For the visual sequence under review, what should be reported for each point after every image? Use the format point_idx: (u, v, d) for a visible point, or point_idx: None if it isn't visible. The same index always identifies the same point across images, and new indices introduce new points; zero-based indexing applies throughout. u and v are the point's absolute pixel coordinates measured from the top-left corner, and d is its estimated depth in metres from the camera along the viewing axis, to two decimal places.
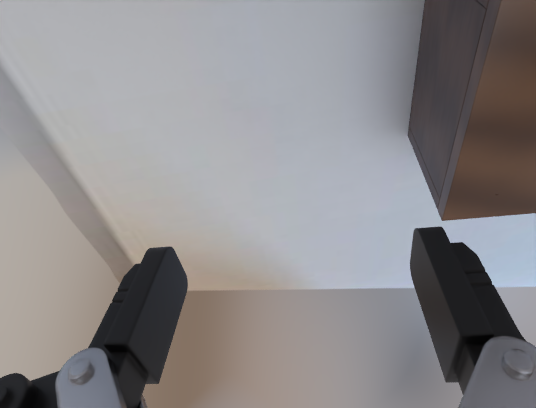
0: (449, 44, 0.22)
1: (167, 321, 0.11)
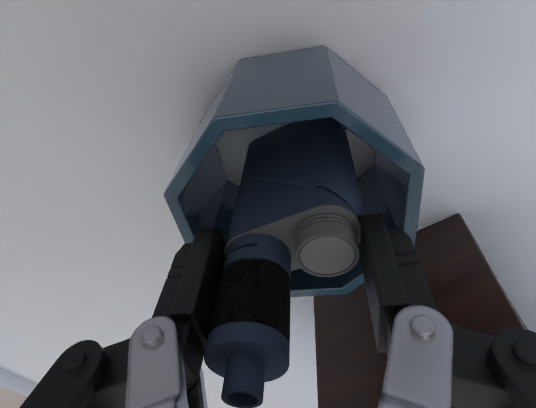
0: None
1: None
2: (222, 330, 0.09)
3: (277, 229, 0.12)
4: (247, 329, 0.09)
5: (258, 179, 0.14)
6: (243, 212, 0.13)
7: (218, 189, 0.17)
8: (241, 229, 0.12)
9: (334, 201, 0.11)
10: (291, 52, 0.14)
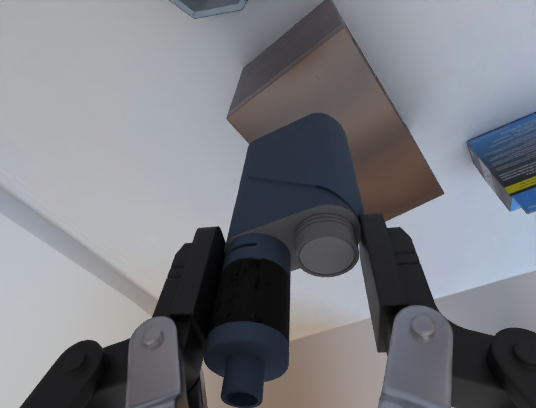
0: None
1: None
2: (221, 330, 0.09)
3: (277, 229, 0.12)
4: (246, 329, 0.09)
5: (258, 179, 0.14)
6: (243, 212, 0.13)
7: None
8: (241, 229, 0.12)
9: (334, 201, 0.11)
10: None
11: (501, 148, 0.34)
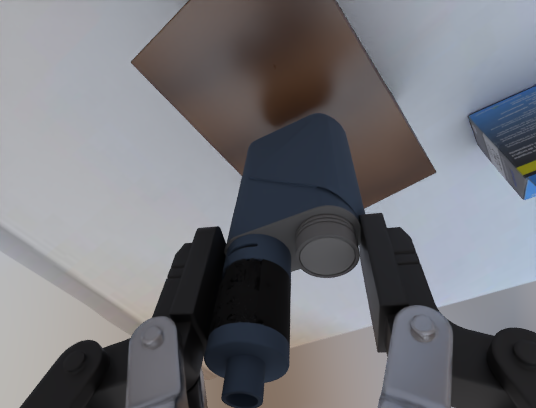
0: None
1: None
2: (222, 331, 0.09)
3: (277, 230, 0.12)
4: (247, 330, 0.09)
5: (258, 180, 0.14)
6: (243, 213, 0.13)
7: None
8: (241, 230, 0.12)
9: (334, 202, 0.11)
10: None
11: (512, 120, 0.27)
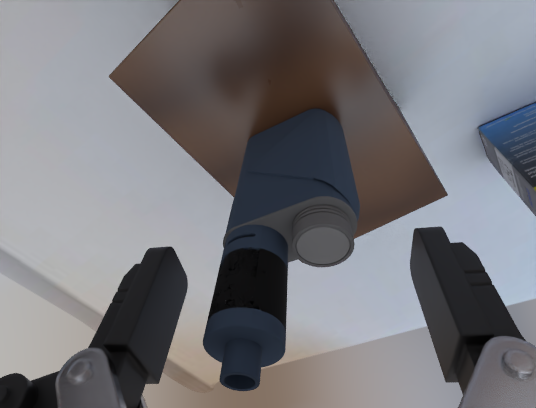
0: None
1: (167, 321, 0.11)
2: (220, 316, 0.09)
3: (274, 220, 0.12)
4: (244, 314, 0.09)
5: (256, 173, 0.14)
6: (241, 205, 0.13)
7: None
8: (239, 221, 0.12)
9: (330, 193, 0.11)
10: None
11: (527, 133, 0.25)
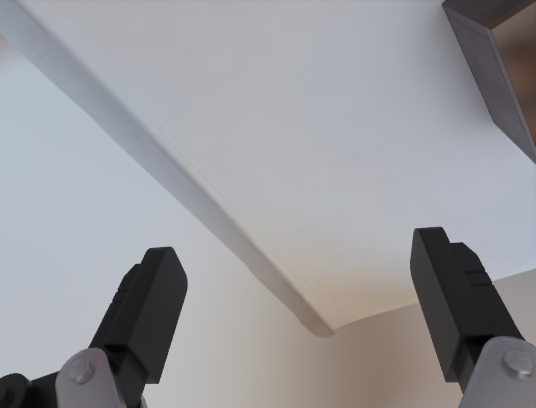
0: (483, 59, 0.31)
1: (167, 321, 0.11)
2: None
3: None
4: None
5: None
6: None
7: None
8: None
9: None
10: None
11: None
